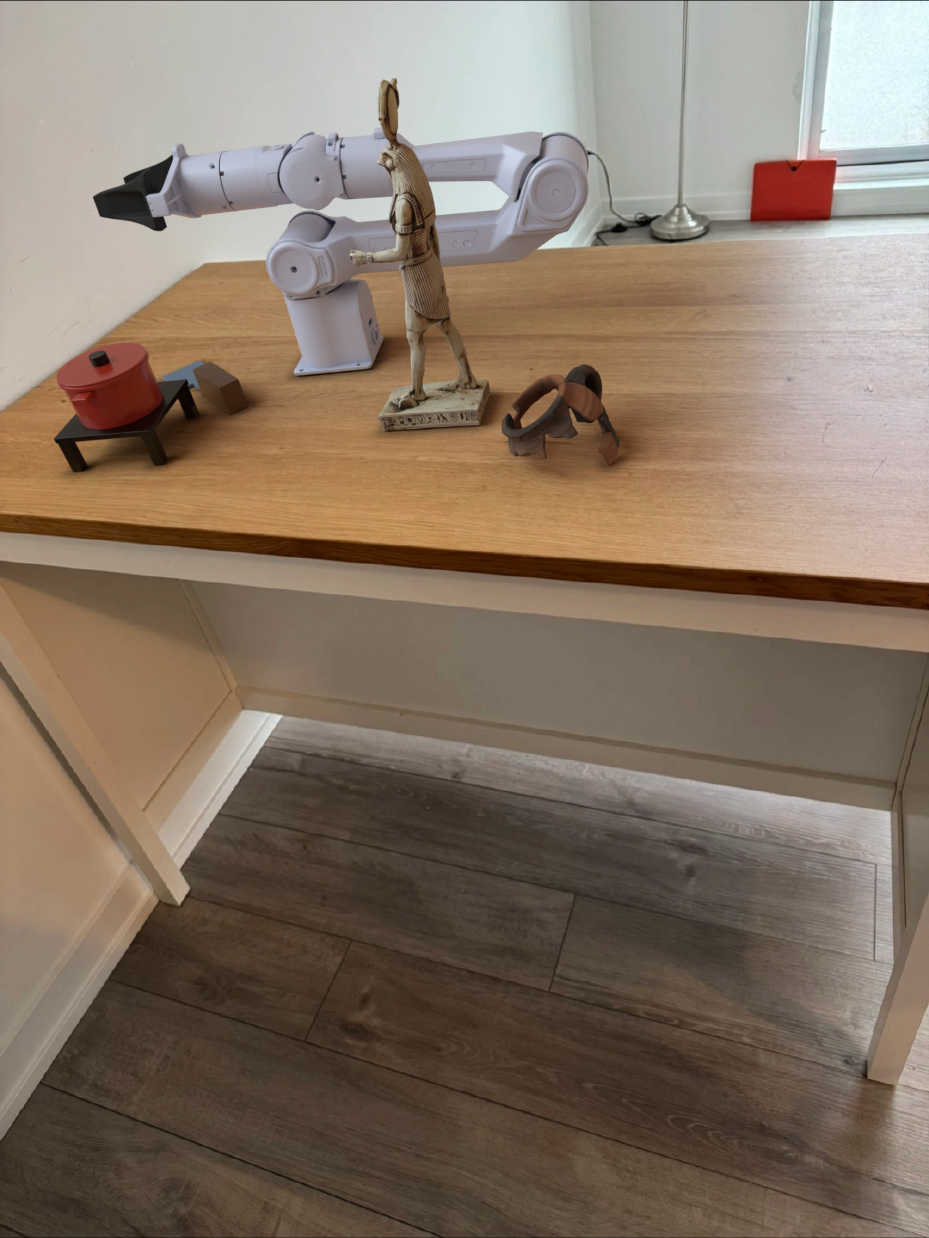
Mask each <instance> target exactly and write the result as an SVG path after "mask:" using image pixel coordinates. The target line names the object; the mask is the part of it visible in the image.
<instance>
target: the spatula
mask: <svg viewBox="0 0 929 1238" xmlns="http://www.w3.org/2000/svg"><path fill="white" fill-rule="evenodd" d="M161 378H162V380H163V381H173V380H183V379H187V381H188V383H189V384H188V387H189V389H190V388H193V387H194V388H196V389H198V390H199V391H200V392H201V395H202V396H203V397H204V398H205V399H206V400H208V401H209V402H211V403H212V404H214V405H216V407H218V408H219V409H220V410H222V411H224V412H225V413H227V414H228V415H230V416H231V415H233V414H235V413H238V412H240V411H241V410H243V409H246V408H248V407H249V405H248V401H247V398H246V396H245V393H244V390H243V388H242V385H241V382H240V379H239V378H238V377H236V376H234V375H233V374H231V373H230V372H228V371H227V370H225V369H223V368H222V367H220V366H218V365H217V364H215V362H212V361H208V362H206V363H204V362H202V361H201V360H197V361H195V362H192V363H190V364H188V365H185V366H183V367H181V368H179V369H175V370H174V371H172V372H169V373H167V374H165V375H163V376H161Z"/></svg>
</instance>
